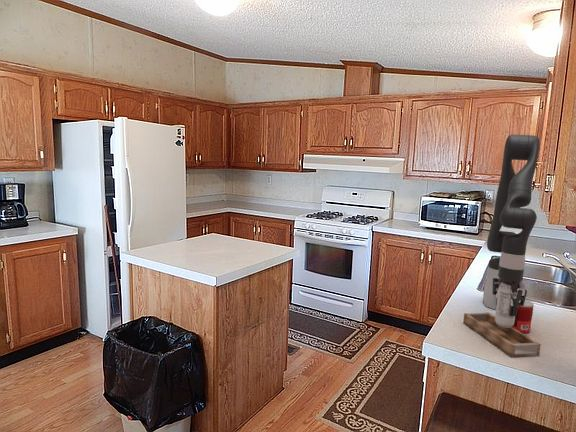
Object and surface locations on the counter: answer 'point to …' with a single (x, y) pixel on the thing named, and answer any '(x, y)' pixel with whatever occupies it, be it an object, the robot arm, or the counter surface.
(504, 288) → the energy drink can
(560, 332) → the counter surface
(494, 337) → the wooden tray
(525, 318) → the canned food
